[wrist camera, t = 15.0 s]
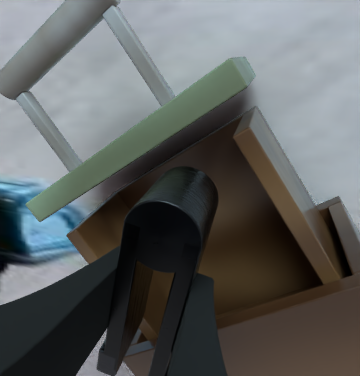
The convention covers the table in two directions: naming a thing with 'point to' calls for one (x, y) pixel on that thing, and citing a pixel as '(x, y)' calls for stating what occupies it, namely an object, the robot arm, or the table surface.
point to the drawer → (192, 157)
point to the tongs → (159, 261)
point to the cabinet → (291, 323)
